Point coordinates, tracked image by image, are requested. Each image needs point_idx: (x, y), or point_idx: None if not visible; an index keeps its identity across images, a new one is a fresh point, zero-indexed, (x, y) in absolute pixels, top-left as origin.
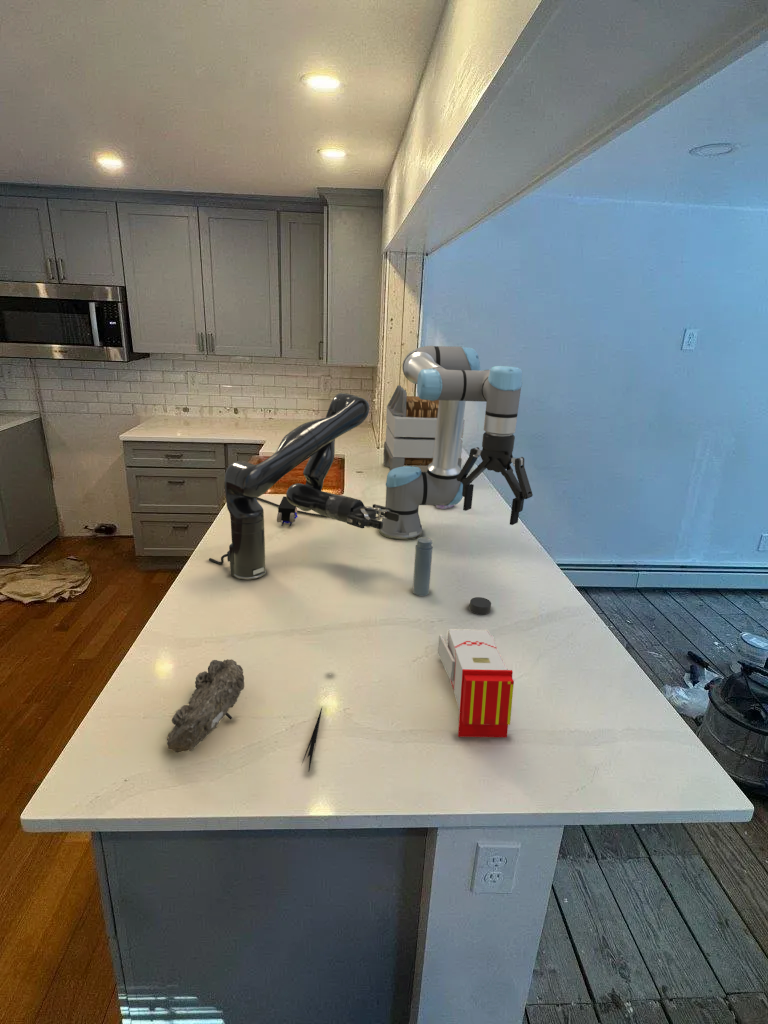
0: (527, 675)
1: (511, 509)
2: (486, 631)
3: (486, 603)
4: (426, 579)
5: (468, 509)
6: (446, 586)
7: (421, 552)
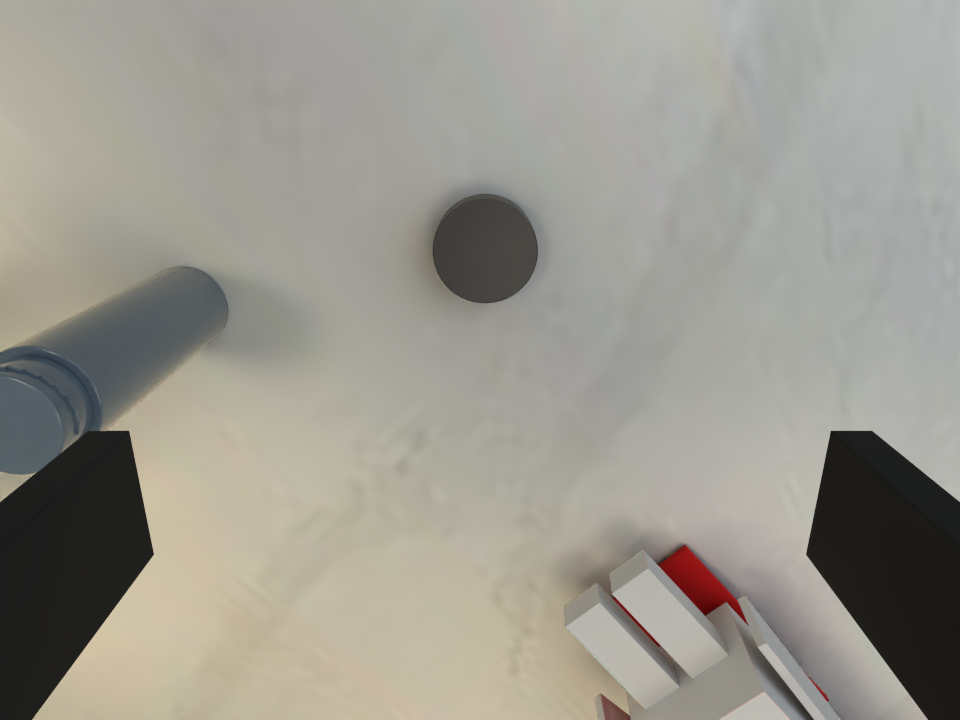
0: None
1: (927, 717)
2: (767, 706)
3: (513, 242)
4: (193, 347)
5: (140, 496)
6: (222, 161)
7: None
